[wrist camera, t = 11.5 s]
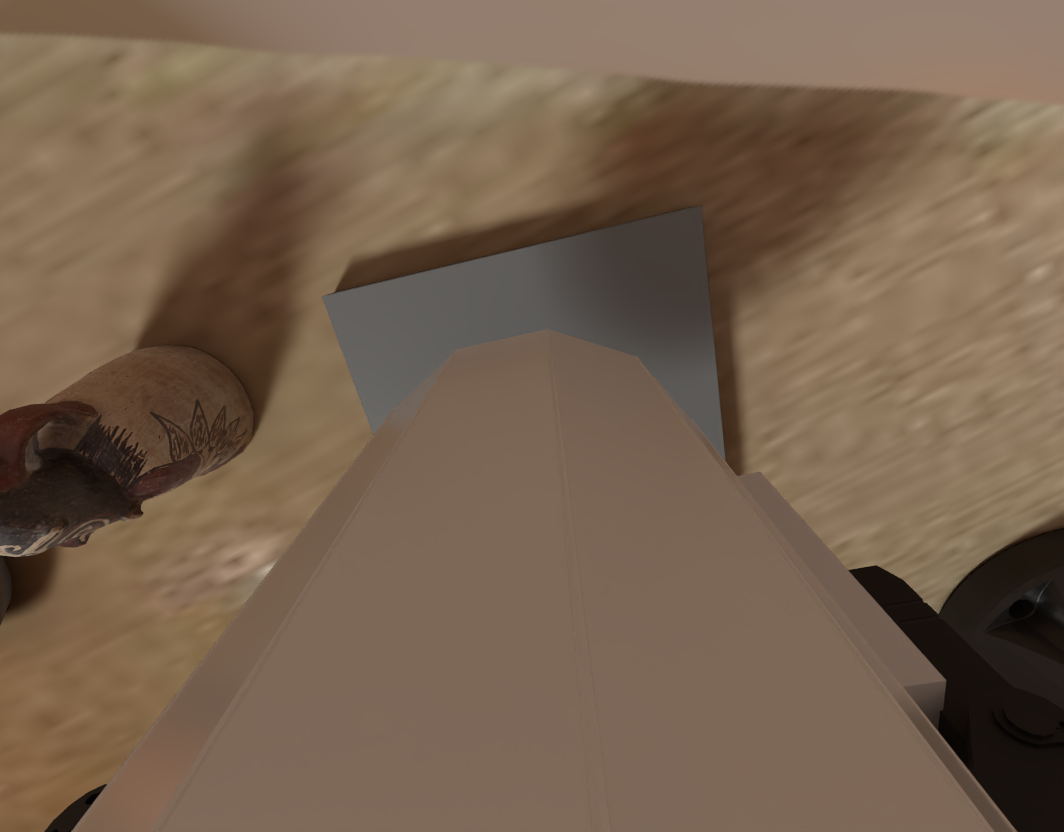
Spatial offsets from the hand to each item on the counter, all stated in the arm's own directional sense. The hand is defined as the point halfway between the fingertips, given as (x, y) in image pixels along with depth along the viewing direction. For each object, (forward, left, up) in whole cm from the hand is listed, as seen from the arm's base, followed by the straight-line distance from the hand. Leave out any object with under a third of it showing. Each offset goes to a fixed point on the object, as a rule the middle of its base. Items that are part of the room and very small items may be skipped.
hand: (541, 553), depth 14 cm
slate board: (0, 0, -13) cm, 13 cm away
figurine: (+19, -4, -14) cm, 24 cm away
